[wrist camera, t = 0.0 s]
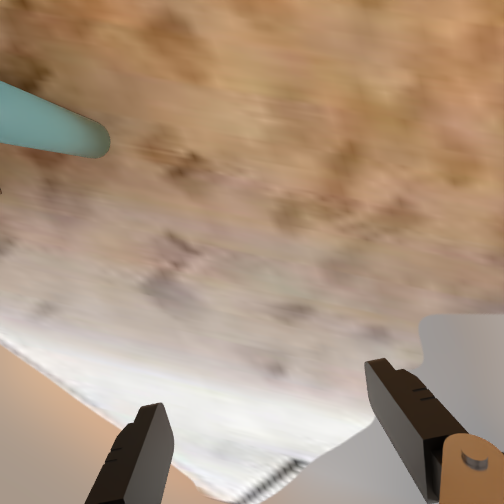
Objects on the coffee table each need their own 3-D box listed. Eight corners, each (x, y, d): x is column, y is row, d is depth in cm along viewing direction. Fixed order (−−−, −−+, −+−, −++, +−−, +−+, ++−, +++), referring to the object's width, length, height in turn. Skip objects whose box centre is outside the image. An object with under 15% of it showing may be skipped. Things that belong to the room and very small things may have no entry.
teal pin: (68, 124, 36) (-66, 78, 20) (103, 117, 35) (-3, 65, 20) (80, 161, 37) (-38, 145, 21) (114, 154, 37) (21, 132, 21)
